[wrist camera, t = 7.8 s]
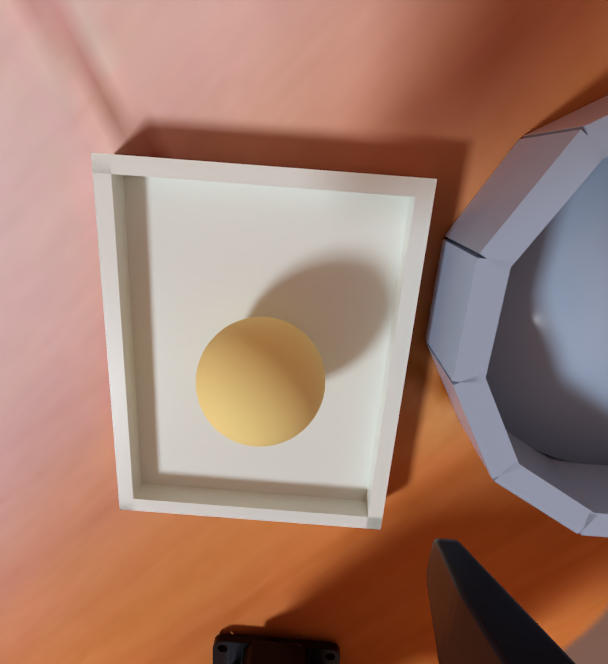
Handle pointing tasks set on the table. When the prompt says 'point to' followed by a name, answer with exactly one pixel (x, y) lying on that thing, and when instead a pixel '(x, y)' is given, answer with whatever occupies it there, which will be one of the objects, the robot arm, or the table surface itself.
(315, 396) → the ball
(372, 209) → the tray
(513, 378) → the bowl
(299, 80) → the table surface
